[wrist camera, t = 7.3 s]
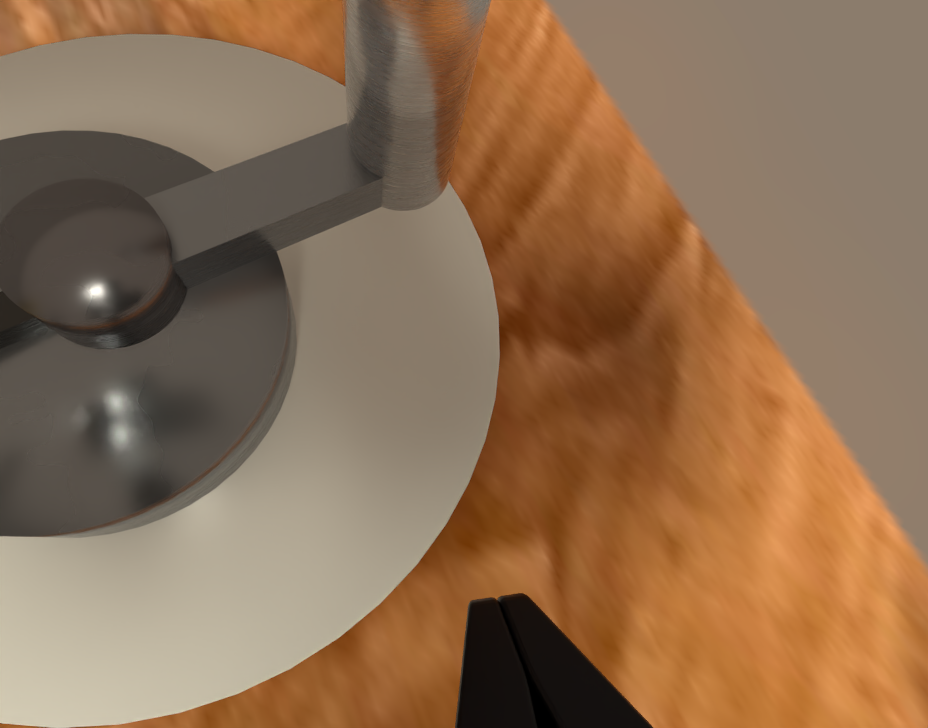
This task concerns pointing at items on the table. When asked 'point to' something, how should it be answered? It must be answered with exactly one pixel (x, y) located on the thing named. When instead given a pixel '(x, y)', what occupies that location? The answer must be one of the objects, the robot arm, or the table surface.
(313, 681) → the table surface
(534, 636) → the robot arm
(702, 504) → the table surface
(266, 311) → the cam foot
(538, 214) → the table surface
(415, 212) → the stand
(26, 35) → the table surface
